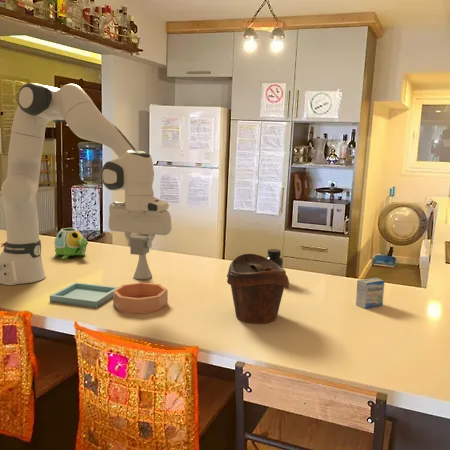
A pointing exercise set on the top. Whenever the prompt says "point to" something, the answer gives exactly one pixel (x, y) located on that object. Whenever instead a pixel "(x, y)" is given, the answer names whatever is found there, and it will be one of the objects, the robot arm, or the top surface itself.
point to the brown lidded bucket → (256, 287)
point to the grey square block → (138, 245)
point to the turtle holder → (70, 243)
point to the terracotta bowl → (140, 297)
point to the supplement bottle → (275, 256)
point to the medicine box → (370, 293)
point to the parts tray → (83, 294)
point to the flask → (142, 269)
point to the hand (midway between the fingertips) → (139, 246)
